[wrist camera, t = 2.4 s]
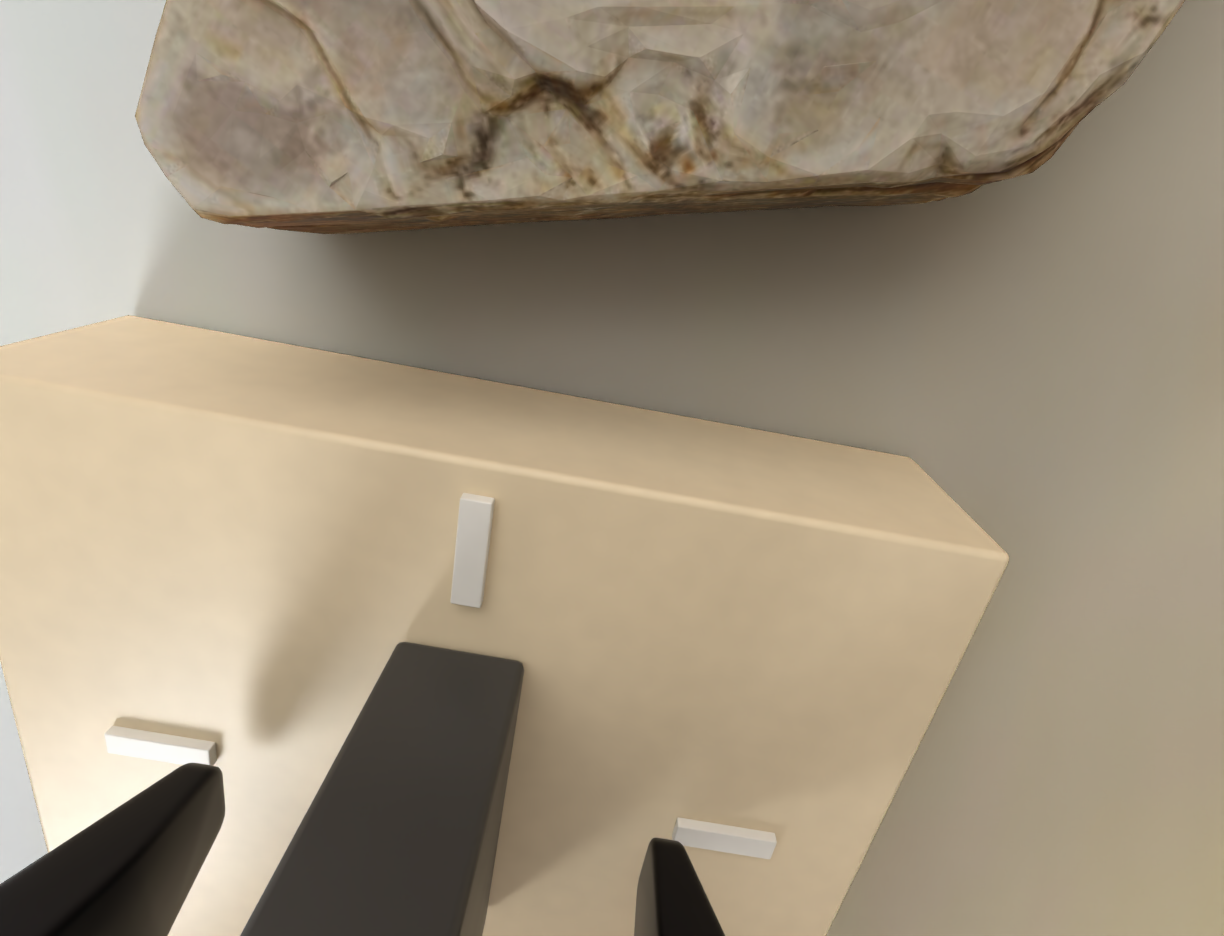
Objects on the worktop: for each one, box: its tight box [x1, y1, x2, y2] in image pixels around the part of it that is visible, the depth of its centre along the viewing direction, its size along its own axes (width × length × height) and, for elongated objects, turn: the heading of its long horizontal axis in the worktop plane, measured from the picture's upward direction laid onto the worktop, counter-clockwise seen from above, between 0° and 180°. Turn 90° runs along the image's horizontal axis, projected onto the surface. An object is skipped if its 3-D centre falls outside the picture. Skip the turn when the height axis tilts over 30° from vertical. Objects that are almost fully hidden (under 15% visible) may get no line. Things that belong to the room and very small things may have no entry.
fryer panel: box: [0, 315, 1009, 936], centre depth 10 cm, size 12×10×3 cm
